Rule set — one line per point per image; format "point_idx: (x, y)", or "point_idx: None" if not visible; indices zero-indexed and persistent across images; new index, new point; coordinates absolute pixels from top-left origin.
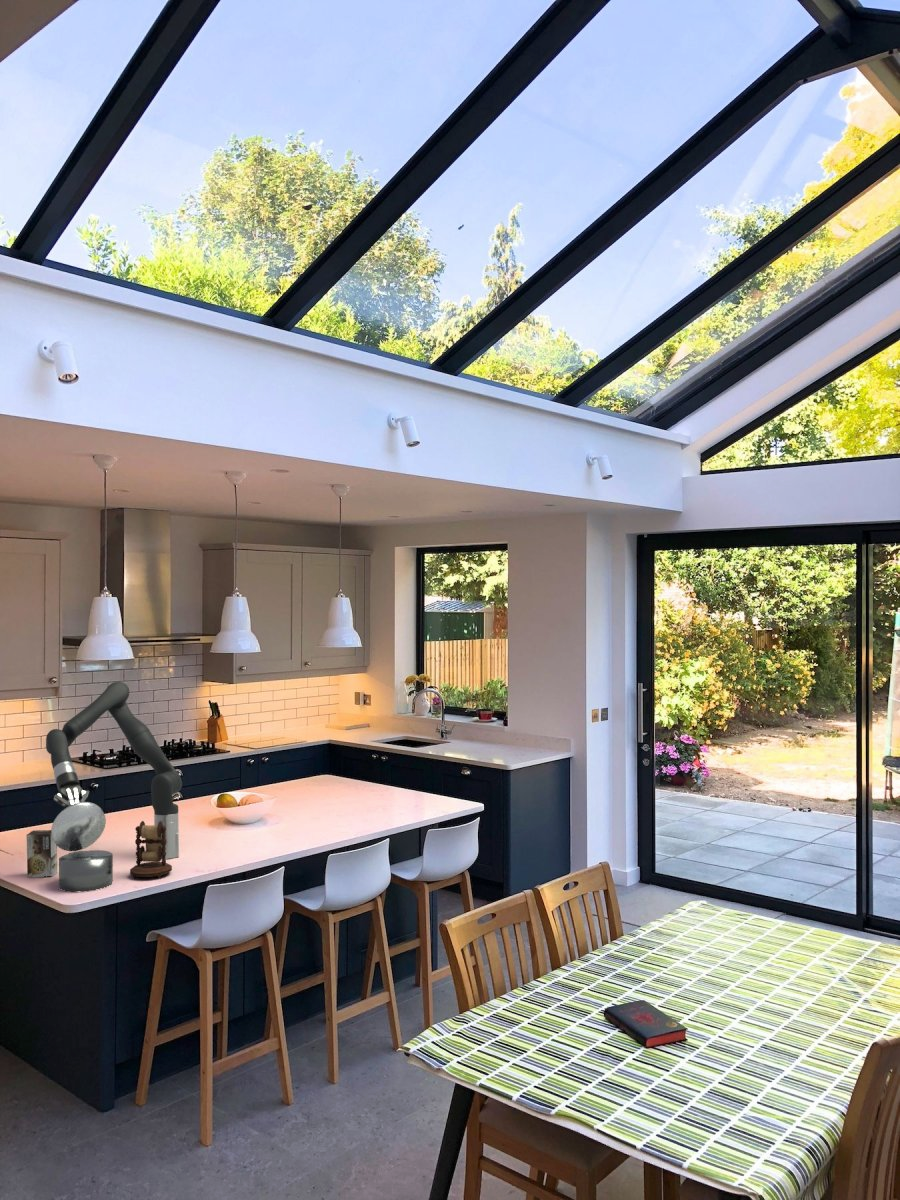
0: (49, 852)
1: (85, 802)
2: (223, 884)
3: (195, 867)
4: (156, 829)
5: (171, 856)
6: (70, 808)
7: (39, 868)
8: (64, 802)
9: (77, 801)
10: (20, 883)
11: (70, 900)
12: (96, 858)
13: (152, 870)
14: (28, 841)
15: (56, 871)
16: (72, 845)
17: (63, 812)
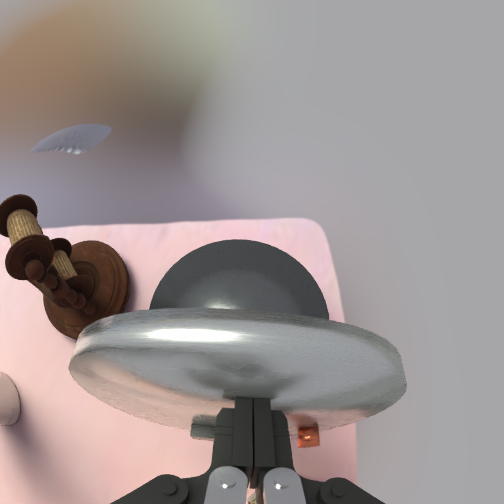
0: None
1: (193, 338)
2: (78, 153)
3: None
4: (26, 211)
5: (2, 373)
6: (359, 328)
7: None
8: (368, 497)
9: (221, 501)
10: (356, 459)
11: (313, 242)
12: (223, 272)
13: (99, 248)
14: None
15: (253, 495)
16: None
17: (393, 349)
